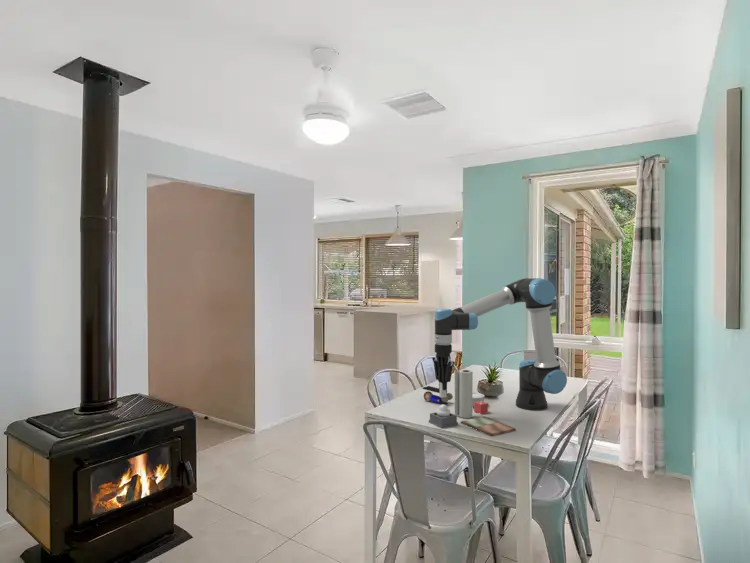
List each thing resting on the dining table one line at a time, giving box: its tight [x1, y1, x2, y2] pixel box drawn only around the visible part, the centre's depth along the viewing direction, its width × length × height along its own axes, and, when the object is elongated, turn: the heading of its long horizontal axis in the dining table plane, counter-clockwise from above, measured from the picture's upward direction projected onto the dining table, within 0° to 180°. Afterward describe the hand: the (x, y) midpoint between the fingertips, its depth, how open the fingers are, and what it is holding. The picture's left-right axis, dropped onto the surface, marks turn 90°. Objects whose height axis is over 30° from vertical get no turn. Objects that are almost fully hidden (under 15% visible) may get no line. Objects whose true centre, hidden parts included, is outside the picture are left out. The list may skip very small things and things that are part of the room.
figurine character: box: [422, 385, 454, 405], centre depth 233 cm, size 7×8×15 cm
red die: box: [473, 401, 489, 415], centre depth 217 cm, size 4×4×5 cm
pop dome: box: [435, 403, 451, 417], centre depth 200 cm, size 6×6×5 cm
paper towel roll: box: [454, 369, 474, 419], centre depth 210 cm, size 7×6×21 cm
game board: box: [460, 416, 517, 437], centre depth 196 cm, size 14×19×1 cm
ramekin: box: [472, 391, 486, 407], centre depth 229 cm, size 11×11×5 cm
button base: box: [428, 411, 459, 429], centre depth 200 cm, size 9×9×4 cm
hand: (442, 396), depth 200 cm, fingers closed
